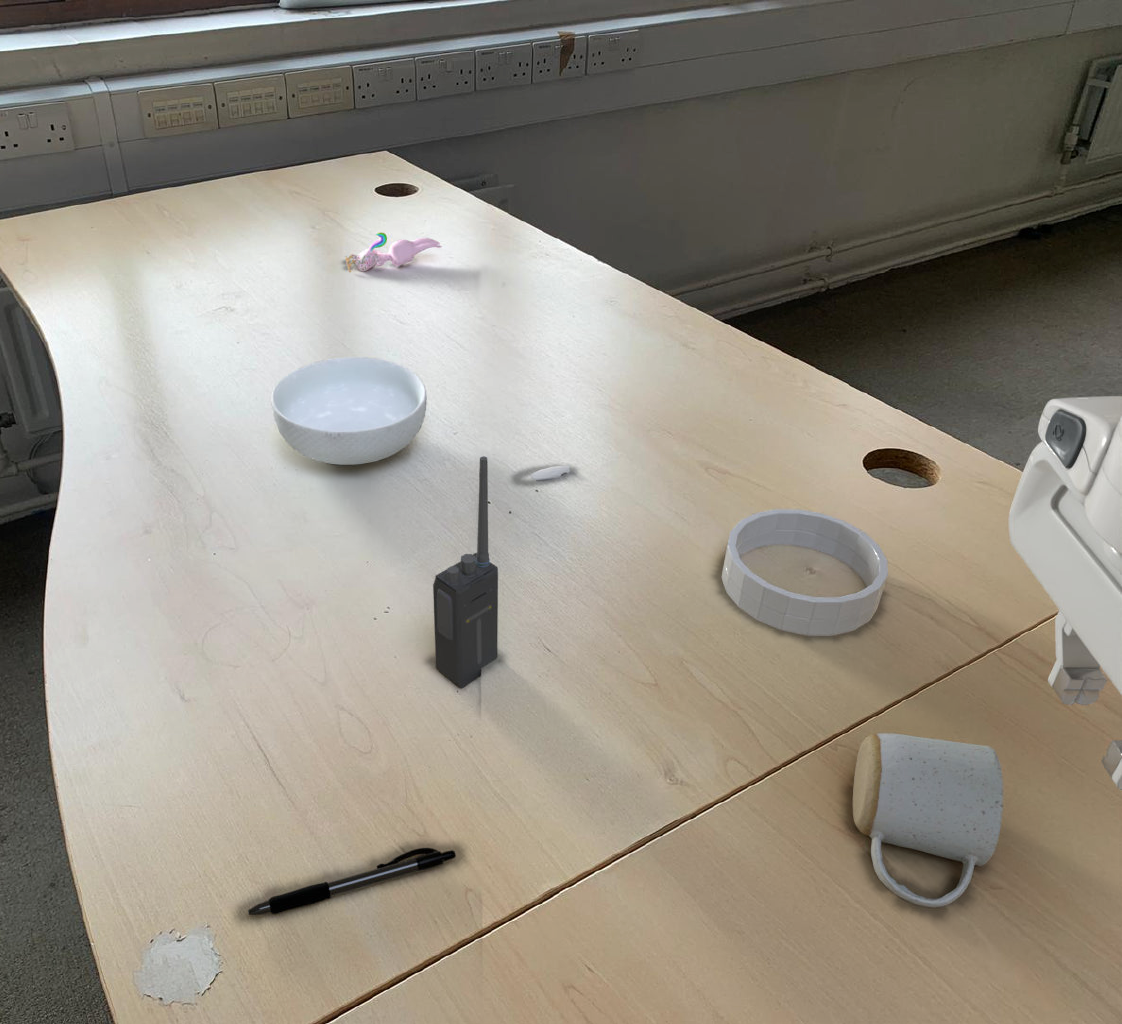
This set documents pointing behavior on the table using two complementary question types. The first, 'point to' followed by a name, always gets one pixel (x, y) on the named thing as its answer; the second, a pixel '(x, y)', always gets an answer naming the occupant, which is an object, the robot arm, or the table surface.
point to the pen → (354, 881)
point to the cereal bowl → (349, 409)
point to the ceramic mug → (928, 803)
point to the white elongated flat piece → (550, 473)
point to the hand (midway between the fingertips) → (1096, 734)
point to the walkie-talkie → (468, 605)
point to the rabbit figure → (390, 252)
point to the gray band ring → (796, 608)
